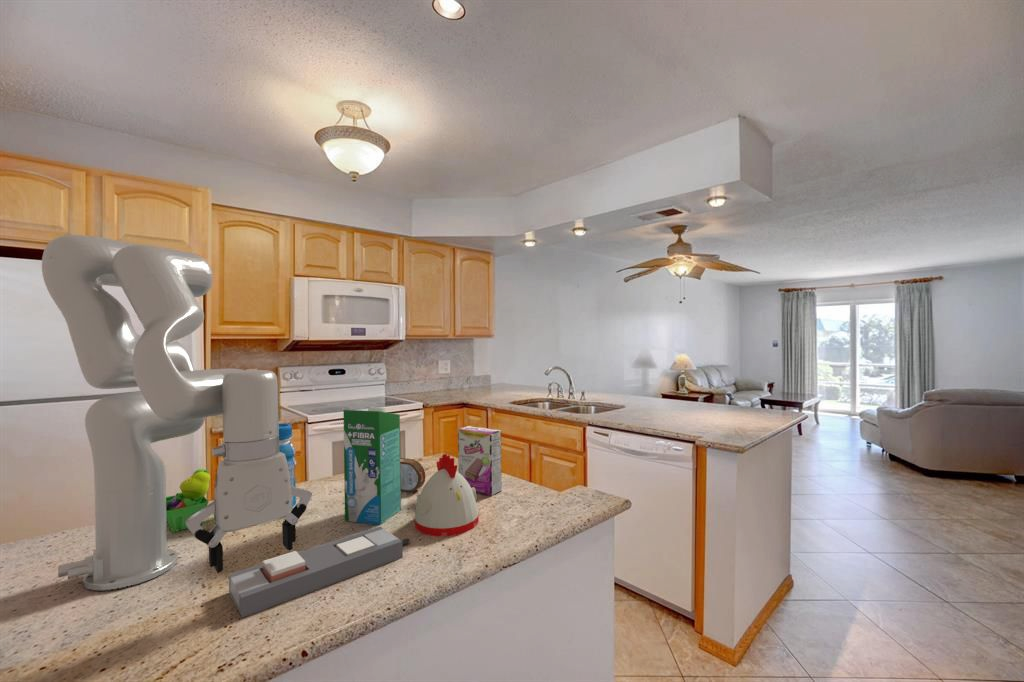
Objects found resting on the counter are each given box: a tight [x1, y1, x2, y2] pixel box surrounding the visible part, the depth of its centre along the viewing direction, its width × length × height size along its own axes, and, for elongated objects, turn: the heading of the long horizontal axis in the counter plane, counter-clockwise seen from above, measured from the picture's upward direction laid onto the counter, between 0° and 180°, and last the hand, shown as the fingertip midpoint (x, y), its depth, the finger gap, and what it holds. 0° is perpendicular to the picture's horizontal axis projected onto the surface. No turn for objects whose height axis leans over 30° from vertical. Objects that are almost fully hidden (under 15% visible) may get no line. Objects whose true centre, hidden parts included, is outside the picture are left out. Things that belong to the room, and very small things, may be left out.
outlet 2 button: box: [336, 536, 375, 557], centre depth 81 cm, size 5×5×2 cm
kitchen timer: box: [414, 453, 480, 537], centre depth 98 cm, size 14×14×15 cm
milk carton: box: [342, 406, 402, 526], centre depth 102 cm, size 9×9×25 cm
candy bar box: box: [457, 425, 502, 497], centre depth 118 cm, size 11×5×16 cm, turn 58°
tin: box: [400, 457, 426, 493], centre depth 120 cm, size 15×3×8 cm, turn 68°
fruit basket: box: [166, 468, 211, 533], centre depth 100 cm, size 11×9×11 cm
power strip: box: [228, 526, 411, 618], centre depth 78 cm, size 30×9×3 cm, turn 133°
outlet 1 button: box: [262, 550, 305, 583], centre depth 73 cm, size 5×5×2 cm
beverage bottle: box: [279, 423, 297, 510], centre depth 107 cm, size 8×8×20 cm
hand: (254, 558), depth 70 cm, fingers open, 9 cm apart
